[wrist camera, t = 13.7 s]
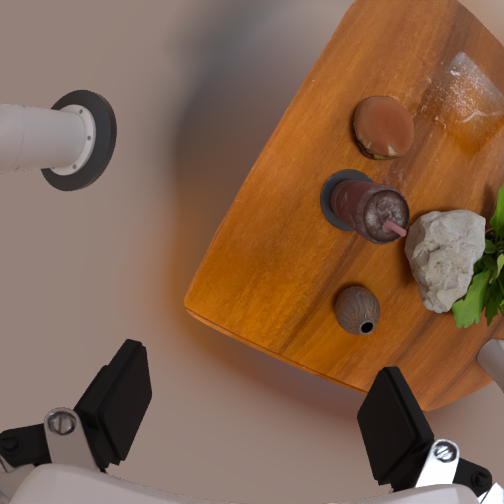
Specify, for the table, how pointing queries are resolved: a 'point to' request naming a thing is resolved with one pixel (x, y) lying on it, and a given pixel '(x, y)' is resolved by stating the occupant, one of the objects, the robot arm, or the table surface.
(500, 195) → the potted flower
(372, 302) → the vase
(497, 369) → the candle
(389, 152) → the burger
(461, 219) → the stone
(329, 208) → the coaster
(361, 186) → the can
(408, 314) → the table surface
